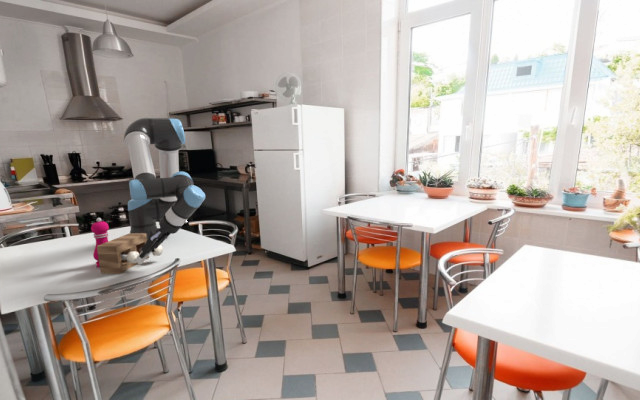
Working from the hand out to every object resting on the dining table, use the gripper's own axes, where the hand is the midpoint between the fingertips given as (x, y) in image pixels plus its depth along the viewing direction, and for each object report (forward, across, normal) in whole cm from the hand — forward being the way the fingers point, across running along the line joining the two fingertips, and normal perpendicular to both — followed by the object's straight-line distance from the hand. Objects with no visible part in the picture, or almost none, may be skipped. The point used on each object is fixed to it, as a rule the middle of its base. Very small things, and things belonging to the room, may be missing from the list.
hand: (138, 261), depth 127 cm
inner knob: (+1, +9, 0) cm, 9 cm away
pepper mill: (+16, +5, +11) cm, 20 cm away
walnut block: (+9, +5, +4) cm, 11 cm away
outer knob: (+4, 0, +3) cm, 5 cm away
